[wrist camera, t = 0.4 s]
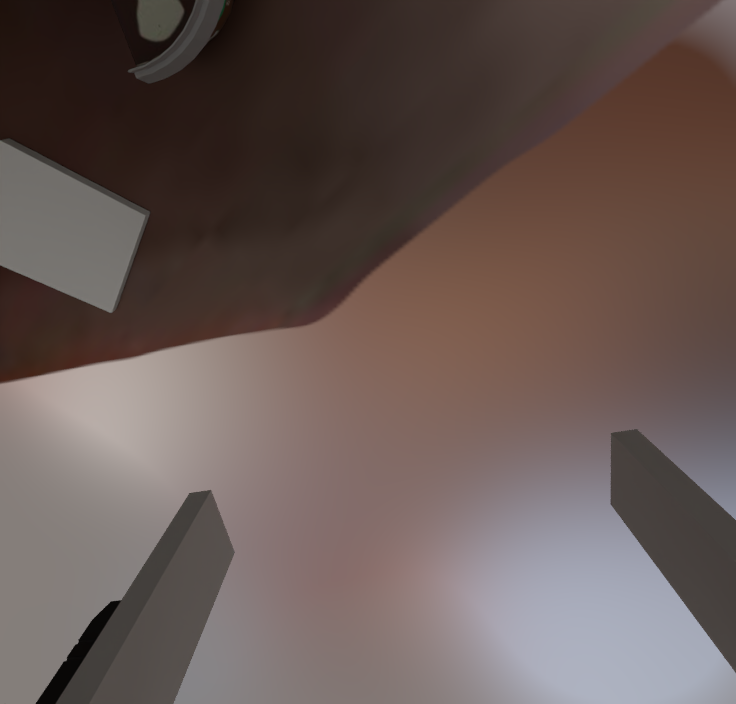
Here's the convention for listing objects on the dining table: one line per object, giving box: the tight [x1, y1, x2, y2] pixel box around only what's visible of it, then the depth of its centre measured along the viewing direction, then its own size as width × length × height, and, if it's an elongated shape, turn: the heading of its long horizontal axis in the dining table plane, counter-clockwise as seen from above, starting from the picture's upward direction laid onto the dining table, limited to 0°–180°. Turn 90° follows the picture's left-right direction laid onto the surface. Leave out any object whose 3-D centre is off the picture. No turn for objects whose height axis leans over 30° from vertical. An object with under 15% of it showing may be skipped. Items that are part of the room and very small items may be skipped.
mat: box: [0, 138, 150, 313], centre depth 34 cm, size 10×10×1 cm
